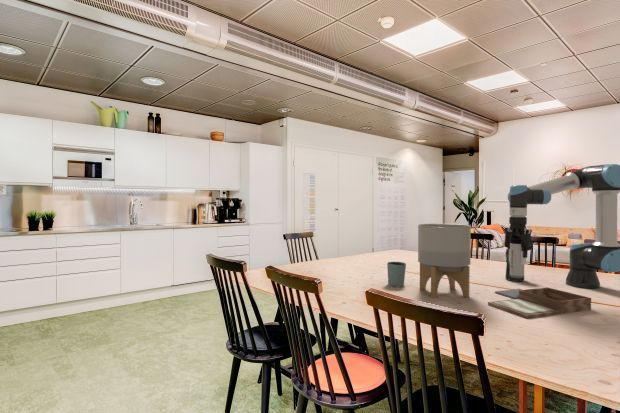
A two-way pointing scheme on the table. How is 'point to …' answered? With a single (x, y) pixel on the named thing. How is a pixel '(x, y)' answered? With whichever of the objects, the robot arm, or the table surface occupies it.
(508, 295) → the potting mat
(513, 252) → the travel mug
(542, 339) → the table surface
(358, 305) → the table surface
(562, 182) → the robot arm
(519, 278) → the coffee jar
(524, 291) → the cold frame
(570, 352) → the table surface
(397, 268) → the blue-grey cup
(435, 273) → the planter
